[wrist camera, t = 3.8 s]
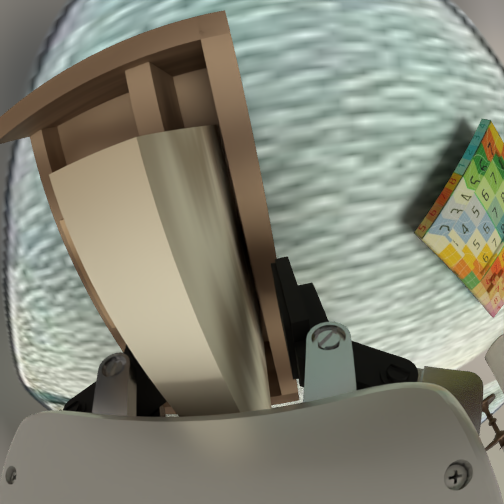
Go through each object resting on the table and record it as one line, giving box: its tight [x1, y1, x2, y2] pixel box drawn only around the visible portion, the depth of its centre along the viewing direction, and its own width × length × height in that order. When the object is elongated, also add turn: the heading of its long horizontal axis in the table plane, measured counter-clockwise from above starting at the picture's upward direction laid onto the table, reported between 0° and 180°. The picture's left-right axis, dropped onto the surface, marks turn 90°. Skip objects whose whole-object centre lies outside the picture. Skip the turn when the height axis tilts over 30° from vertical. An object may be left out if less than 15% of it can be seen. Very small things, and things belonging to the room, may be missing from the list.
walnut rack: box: [0, 11, 299, 414], centre depth 17 cm, size 24×14×7 cm, turn 11°
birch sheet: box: [49, 125, 272, 417], centre depth 12 cm, size 14×2×14 cm, turn 11°
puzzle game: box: [414, 119, 504, 318], centre depth 19 cm, size 12×5×20 cm
